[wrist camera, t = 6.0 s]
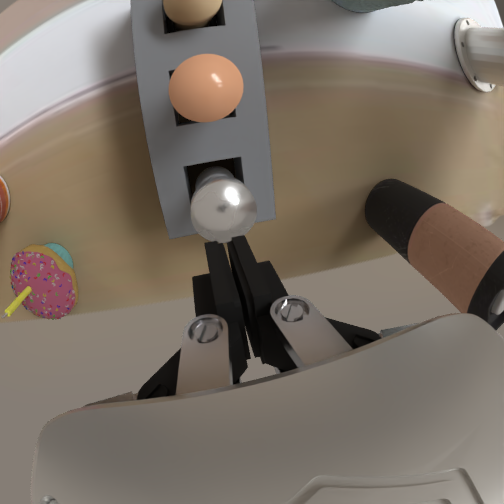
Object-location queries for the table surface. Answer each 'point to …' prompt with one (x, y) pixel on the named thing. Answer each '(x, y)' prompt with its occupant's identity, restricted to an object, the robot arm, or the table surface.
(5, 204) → the pill bottle
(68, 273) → the cupcake
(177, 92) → the terracotta plug
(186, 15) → the oak plug
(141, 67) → the socket block
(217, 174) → the aluminium plug
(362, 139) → the table surface
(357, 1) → the green tapered cup
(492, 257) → the travel mug
